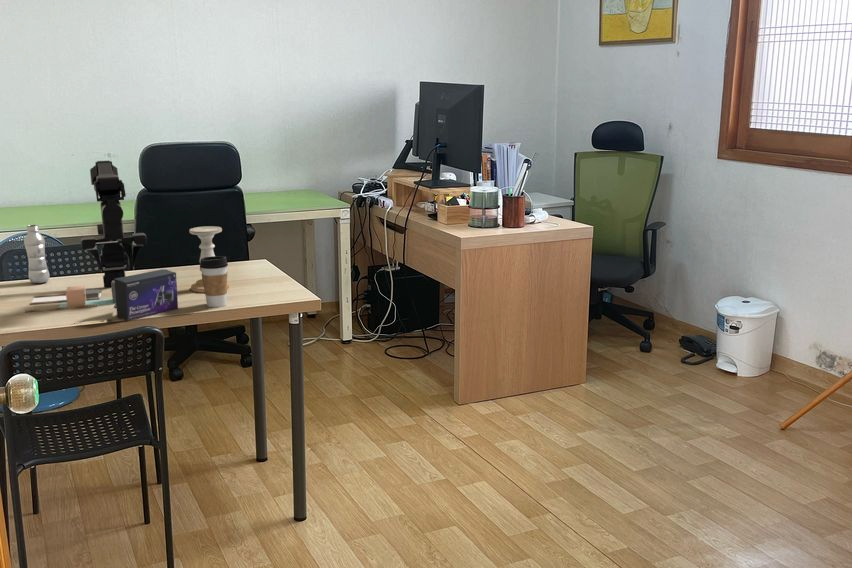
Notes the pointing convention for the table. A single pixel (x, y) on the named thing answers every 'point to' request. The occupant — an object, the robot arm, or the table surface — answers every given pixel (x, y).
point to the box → (146, 294)
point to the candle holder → (205, 249)
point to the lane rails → (59, 302)
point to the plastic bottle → (36, 255)
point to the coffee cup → (215, 280)
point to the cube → (76, 296)
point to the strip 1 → (89, 294)
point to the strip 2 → (100, 302)
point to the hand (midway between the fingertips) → (117, 268)
